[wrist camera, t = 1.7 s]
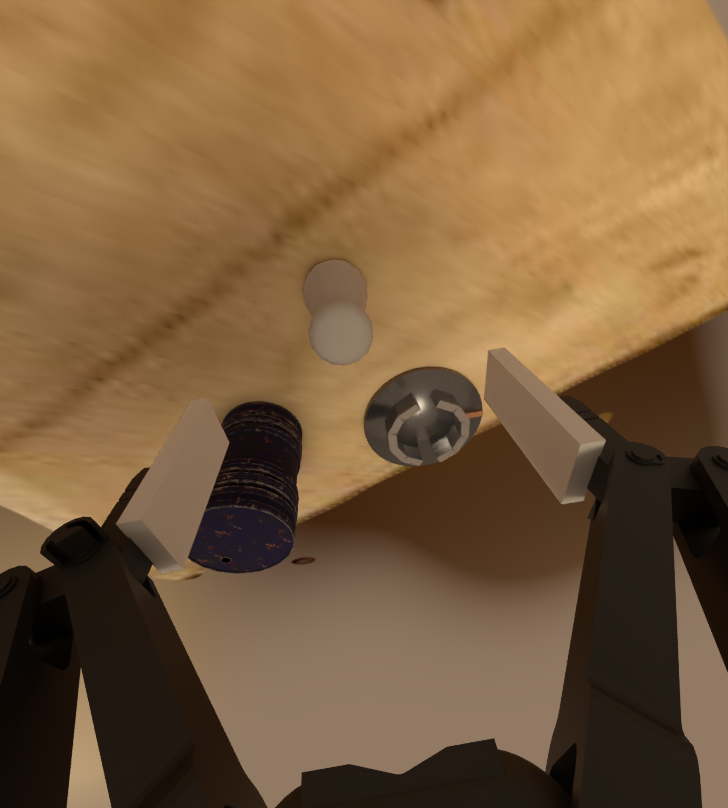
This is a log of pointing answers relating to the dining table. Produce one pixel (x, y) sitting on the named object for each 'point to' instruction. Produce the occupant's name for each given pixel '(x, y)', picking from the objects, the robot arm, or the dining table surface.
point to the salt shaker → (338, 312)
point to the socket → (422, 416)
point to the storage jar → (252, 493)
